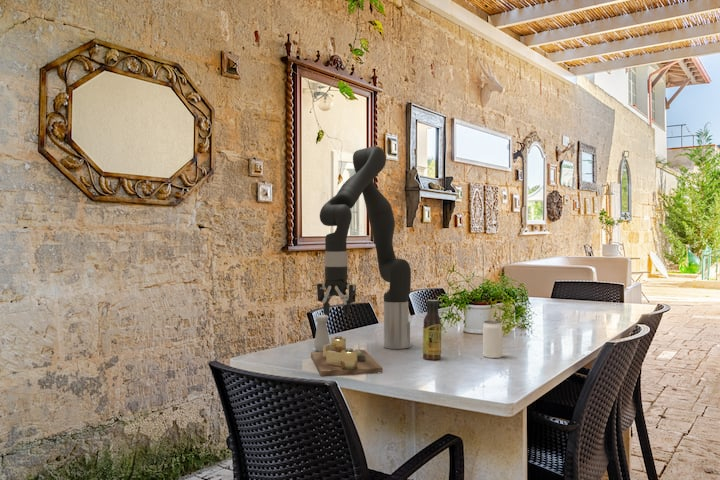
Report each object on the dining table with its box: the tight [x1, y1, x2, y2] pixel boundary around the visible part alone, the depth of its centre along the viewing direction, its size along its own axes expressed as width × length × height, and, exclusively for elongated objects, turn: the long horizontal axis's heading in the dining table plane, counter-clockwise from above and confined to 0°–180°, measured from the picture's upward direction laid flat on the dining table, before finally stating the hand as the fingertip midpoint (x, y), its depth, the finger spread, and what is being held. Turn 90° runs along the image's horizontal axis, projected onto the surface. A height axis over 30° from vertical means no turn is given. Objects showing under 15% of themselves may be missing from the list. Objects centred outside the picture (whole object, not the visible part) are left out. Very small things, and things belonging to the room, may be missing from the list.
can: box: [482, 320, 503, 359], centre depth 202 cm, size 6×6×12 cm
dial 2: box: [326, 348, 357, 369], centre depth 183 cm, size 12×5×6 cm, turn 51°
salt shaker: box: [313, 314, 331, 352], centre depth 215 cm, size 6×6×13 cm
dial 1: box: [323, 335, 347, 357], centre depth 200 cm, size 12×5×6 cm, turn 151°
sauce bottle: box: [422, 299, 443, 361], centre depth 200 cm, size 6×6×20 cm
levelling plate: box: [310, 348, 383, 377], centre depth 193 cm, size 19×29×5 cm, turn 11°
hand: (336, 315), depth 194 cm, fingers open, 7 cm apart
